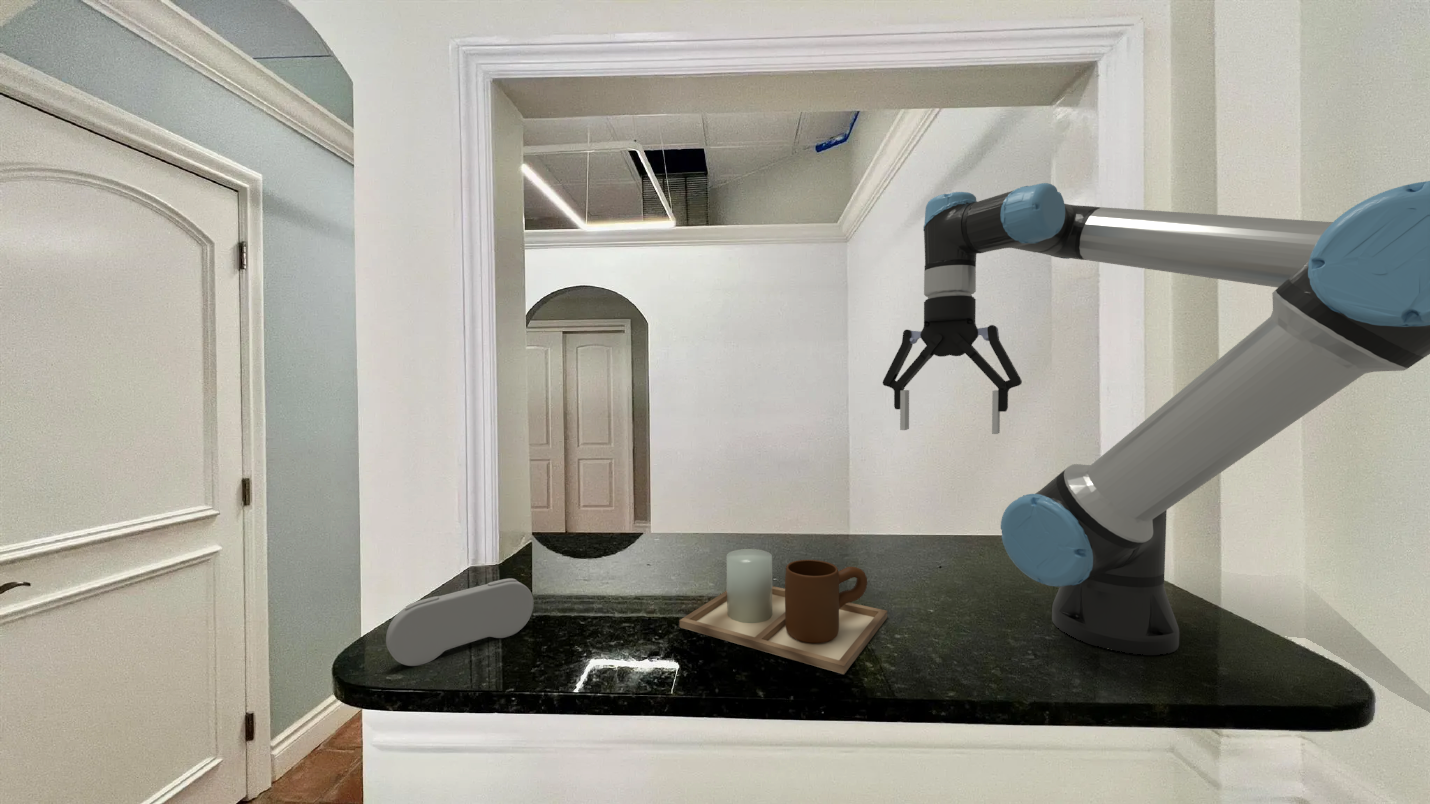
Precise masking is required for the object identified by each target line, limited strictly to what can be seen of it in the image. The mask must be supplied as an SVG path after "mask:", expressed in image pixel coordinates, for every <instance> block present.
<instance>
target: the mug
mask: <svg viewBox="0 0 1430 804" xmlns="http://www.w3.org/2000/svg"><path fill="white" fill-rule="evenodd" d="M852 578H856V581H855V585H854V586H853V588H851V589H845V590H842V591H840V585H841V584H842V583H844V582H847V581H848V580H850V579H852ZM867 587H868V578H867V575H866V573H865V572H864V570H862V569H861V568H859V567H857V566H846V567H844V568H842V569H841V570H839V569H838V567H837V566H836V565H835V564H833V563H832V562H828V561H825V560H819V559H800V560H799V559H798V560H794V561H792V562H789V563H788V564H787V565H786V566H785V576H784V589H785V624H786V630H787V632H788V634H789V635H790V636H792V637H793V638H795V639H797V640H799V641H802V642H807V643H824V642H828V641H831V640H833V639H834V638H835V637H836V636H837V634H838V631H839V609H840V608H841V607H842V606H844V605H845V604H846V603H853V602H856V601H857V600H859V599H860V598H862V596H863V595H864V594H865V593H866V591H867Z"/></svg>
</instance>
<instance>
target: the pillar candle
mask: <svg viewBox="0 0 1430 804" xmlns="http://www.w3.org/2000/svg"><path fill="white" fill-rule="evenodd" d="M772 586H773V554H772V553H770V552H768V551H766V550H763V549H759V548H757V549H755V548H741V549H736V550H732V551H729V552H728V553H727V554H726V591H727V615H728V616H729V617H730V618H731V619H733V620H735V621H738V622H743V623H758V622H763V621H766V620H768V619H770V618H771V617H772Z"/></svg>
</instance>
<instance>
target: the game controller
mask: <svg viewBox="0 0 1430 804" xmlns="http://www.w3.org/2000/svg"><path fill="white" fill-rule="evenodd" d="M533 610H534V596H533V594H532V592H531V590H530V589H529V588H528V587H527V586H526V585H525V584H523V583H522V582H519V581H518V580H517V579H515V578H512V577H511V578H503V579H499V580H494V581H490V582H488V583H485V584H482V585H478V586H474V587H469V588H466V589H462V590H458V591H454V592H450V593H447V594H442V595H438V596H437V595H435V596H431V597H428V598H424V599H420V600H417V601H414V602H411V603H409V604H408V605H406V606H405V607H404V608H402V609H401V610H400V611H399V612H397V614H396V615H395V616H394V617H393V619H392V620H391V622H390V623H389V625H388V627H387V630H386V636H385V644H386V648H387V650H388V652H389V653H390V655H391V657H392V658H393V659H394V661H396V662H397V663H399V664H402V665H404V666H407V667H417V666H423V665H425V664H428V663H430V662H432V661H434V660H435V659H437V658H438V657H439V656H441V655H442V654H443V653H444V652H445V651H448V650H451V649H453V648H456V647H460V646H463V645H467V644H470V643H472V642H475V641H480V640H482V639H486V638H495V639H504V638H508V637H510V636H514V635H515V634H518V632H520V630H522V629H523V628H524V627H525V626H526V624H527V623H528V621H530V618H531V616H532V614H533Z"/></svg>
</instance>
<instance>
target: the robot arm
mask: <svg viewBox="0 0 1430 804" xmlns="http://www.w3.org/2000/svg"><path fill="white" fill-rule="evenodd" d="M924 214H925V215H924V225H923V229H922V230H923V235H924V236H923V238H924V239H923V241H924V273H923V275H924V276H923V279H924V280H923V295H924V296H925V297H927V299H925V300H924V301H923V327H922V330H921V331H919V330H911V329H904V330H903V332H902V338H901V339H902V340H901V344H900V346H899V348H898V350H897V352H896V354H895V356H894V358H893V360H892V362H891V364H890V365H889V368H888V371H887V372H886V374H885V376H884V378H883V380H882V385H883V386H885V387H888V388H891V389H892V390H893V393H894V394H893V397H894V398H893V403H894V404H893V406H894V409H895V410H900V411H899V412H900V413H899V415H900V416H899V417H900V419H899V420H900V423H899V424H900V425H899V430H900V431H907V430H909V429H910V390H909V389H905V388H906V387H907V385H908V384H909V383H910V382H911V381H912V380H913V379H914V377H915V376H916V375H917V374H918V373H919V371H920V370H921V369H922V368H923V367H924V366H925V365H926V364H927V363H928V361H930V359H932V358H933V357H934V356H936V357H948V356H953V357H961V356H963V355H965V354H966V356H967V357H968V358H969V359H970V360H971V361H972V362H973V363H974V364H975V365H976V366H977V367H978V368H979V369H980V370H981V372H982V373H983V374H984V375H985V376H986V377H987V378H988V379H989V380H990V381H991V383H993V384H994V386H996V388H997V389H995V390H992V401H991V402H992V403H991V404H992V406H991V411H992V412H991V416H992V418H991V435H999V434H1000V425H1001V424H1000V423H1001V422H1000V421H1001V420H1000V419H1001V417H1000V416H1001V414H1000V413H1001V412H1002V413H1003V412H1004V413H1005V412H1007V410H1008V408H1009V391H1010V389H1012V388H1015V387H1019V386H1021V385H1022V382H1023V380H1022V378H1021V376H1020V375H1019V373H1018V371H1017V369H1016V367H1015V366H1014V364H1013V362H1012V361H1011V359H1010V356H1009V355H1008V353H1007V351H1006V349H1005V348H1004V346H1003V345H1002V343H1001V340H1000V335H999V328H998V327H997V326H995V325H994V324H990V325H989V326H986V327H979V328H978V327H977V324H976V308H977V307H976V306H977V305H976V301H977V299H976V298H975V297H974V296H973V294H975V293H976V291H977V289H976V288H977V287H976V286H977V283H976V281H977V277H976V276H977V273H976V272H977V271H976V268H977V254H984V253H987V252H993V251H997V250H1002V249H1016V250H1021V251H1025V252H1029V253H1030V252H1031V253H1038V254H1042V255H1047V256H1051V257H1054V258H1059V259H1067V260H1068V259H1073V260H1074V259H1075V260H1081V261H1082V260H1083V261H1090V262H1097V263H1103V264H1112V265H1118V266H1125V267H1133V268H1139V269H1145V270H1153V271H1159V272H1160V271H1161V272H1167V273H1175V274H1181V275H1188V276H1194V277H1199V278H1200V277H1203V278H1209V279H1216V280H1222V281H1229V282H1236V283H1244V284H1250V285H1256V286H1257V285H1258V286H1263V287H1271V288H1272V287H1273V288H1276V289H1275V290H1274V291H1272V295H1271V296H1272V311H1271V315H1270V317H1268V318H1267V319H1266V320H1265V321H1263V322H1262V323H1261V324H1260V325H1258V326H1257V327H1256V328H1255V329H1254V330H1252V331H1251V332H1250V333H1249V334H1248V335H1246V336H1245V337H1244V338H1243V339H1242V340H1240V341H1239V342H1238V343H1236V344H1235V345H1234V346H1233V347H1232V348H1230V349H1229V350H1228V351H1227V352H1226V353H1224V355H1222V356H1221V357H1220V358H1218V359H1217V360H1216V361H1214V363H1213V364H1211V365H1209V367H1208V368H1206V369H1205V370H1204V371H1202V373H1200V374H1199V375H1198V376H1196V377H1195V379H1193V380H1192V381H1191V382H1190V383H1188V384H1187V385H1186V386H1184V387H1183V388H1182V389H1181V390H1180V391H1178V393H1176V394H1175V395H1174V396H1172V397H1171V398H1170V399H1169V400H1168V401H1167V402H1166V403H1164V404H1163V405H1161V407H1159V408H1158V409H1157V410H1156V411H1154V412H1153V413H1152V414H1151V415H1150V416H1148V417H1147V418H1145V420H1143V422H1141V423H1140V424H1139V425H1137V426H1136V427H1135V428H1133V429H1132V431H1130V432H1129V433H1127V434H1126V435H1125V436H1124V437H1122V439H1121V440H1119V441H1117V443H1116V444H1115V445H1113V446H1112V447H1111V448H1110V449H1109V450H1107V451H1106V452H1105V453H1104V454H1102V455H1100V457H1099V458H1098V459H1096V460H1095V461H1094V462H1092V464H1090V465H1089V464H1081V463H1080V464H1079V463H1078V464H1077V463H1076V464H1075V463H1074V464H1071V465H1069V466H1067V467H1066V468H1065V469H1064V470H1063V471H1061V472H1060V473H1059V474H1057V476H1055V477H1054V478H1053V479H1052V480H1050V481H1049V482H1048V483H1047V484H1046V485H1044V487H1042V488H1041V489H1040V490H1038V491H1037V492H1036V493H1028V494H1024V495H1022V496H1020V497H1018V498H1017V499H1015V500H1013V501H1012V502H1010V504H1008V506H1007V507H1006V508H1005V510H1004V512H1003V514H1002V516H1001V520H1000V529H1001V541H1002V544H1003V547H1004V550H1005V552H1006V554H1007V555H1008V557H1009V558H1010V560H1011V561H1012V563H1013V564H1014V565H1015V567H1017V568H1018V570H1020V571H1021V572H1022V573H1023V574H1024V575H1026V576H1027V577H1028V578H1030V579H1031V580H1033V581H1035V582H1037V583H1040V584H1042V585H1046V586H1049V587H1059V588H1058V591H1057V593H1056V595H1055V597H1054V600H1053V602H1052V607H1051V608H1052V609H1051V611H1052V612H1051V621H1052V623H1053V625H1054V626H1055V627H1056V628H1057V629H1058V628H1059V629H1058V630H1059V631H1061V632H1063V633H1064V632H1065V633H1064V634H1066V633H1067V634H1068V636H1069V635H1070V636H1069V637H1071V636H1072V638H1073V637H1074V639H1075V638H1076V639H1075V640H1078V641H1080V640H1081V641H1080V642H1082V641H1083V642H1082V643H1084V644H1087V645H1091V646H1094V647H1097V646H1099V647H1098V648H1100V647H1103V648H1102V649H1104V648H1109V649H1112V650H1116V651H1115V652H1117V651H1120V652H1119V653H1122V652H1125V653H1124V654H1129V653H1133V654H1132V655H1137V654H1141V655H1140V656H1161V655H1160V654H1163V655H1167V654H1166V653H1168V654H1171V653H1173V652H1176V651H1177V650H1178V649H1179V648H1180V647H1179V646H1180V628H1179V625H1178V623H1177V619H1176V616H1175V614H1174V610H1173V609H1172V605H1171V604H1170V603H1171V602H1170V600H1169V597H1168V595H1167V592H1166V588H1165V573H1166V572H1165V569H1166V568H1165V567H1166V542H1167V510H1169V509H1170V508H1171V507H1173V506H1174V505H1176V504H1177V503H1179V502H1180V501H1182V500H1183V499H1184V498H1186V497H1188V495H1190V494H1192V493H1194V492H1195V491H1196V490H1198V489H1199V488H1200V487H1202V486H1203V485H1205V484H1206V483H1208V482H1209V481H1211V480H1212V479H1214V478H1216V476H1218V475H1220V474H1221V473H1222V472H1224V471H1225V470H1227V469H1228V468H1229V467H1231V466H1232V465H1234V464H1235V463H1237V462H1238V461H1240V460H1241V459H1242V458H1244V457H1246V456H1247V455H1248V454H1250V453H1251V452H1253V451H1255V450H1256V449H1257V448H1259V447H1260V446H1262V445H1263V444H1265V443H1266V442H1268V441H1269V440H1271V439H1272V438H1273V437H1275V436H1276V435H1278V434H1279V433H1281V432H1282V431H1283V430H1285V429H1286V428H1288V427H1290V426H1291V425H1292V424H1294V423H1296V421H1299V420H1300V419H1301V418H1302V417H1305V415H1307V414H1308V413H1310V412H1311V411H1312V410H1314V409H1315V408H1318V406H1320V405H1321V404H1323V403H1324V402H1327V400H1328V399H1330V398H1332V397H1333V396H1335V395H1336V394H1337V393H1339V392H1341V391H1342V390H1343V389H1344V388H1347V387H1348V386H1349V385H1350V384H1352V383H1353V382H1355V381H1356V380H1358V379H1359V378H1361V377H1362V376H1364V375H1365V374H1369V373H1374V372H1399V371H1401V372H1402V371H1403V372H1404V371H1406V370H1408V369H1410V367H1412V366H1414V365H1416V364H1417V363H1418V362H1420V361H1422V360H1423V359H1424V358H1426V357H1428V356H1429V355H1430V180H1425V181H1419V182H1414V183H1409V184H1406V185H1401V186H1397V187H1393V188H1391V189H1387V190H1385V191H1382V192H1380V193H1378V194H1375V195H1373V196H1371V197H1368V198H1366V199H1364V200H1363V201H1361V202H1359V203H1357V204H1356V205H1354V206H1352V207H1350V209H1348V210H1346V211H1345V212H1343V213H1342V214H1341V215H1339V216H1337V218H1336V219H1335V220H1334V221H1323V220H1320V221H1319V220H1306V219H1305V220H1304V219H1290V218H1289V219H1287V218H1272V217H1261V216H1260V217H1258V216H1242V215H1230V214H1229V215H1227V214H1214V213H1213V214H1212V213H1200V212H1199V213H1198V212H1197V213H1196V212H1184V211H1183V212H1180V211H1168V210H1167V211H1165V210H1163V211H1162V210H1149V209H1137V208H1119V207H1118V208H1117V207H1103V206H1101V207H1100V206H1092V205H1079V204H1078V205H1077V204H1068V203H1065V201H1064V197H1063V195H1062V193H1061V191H1058V189H1057V187H1056V186H1055V185H1054V184H1051V183H1048V182H1043V183H1037V184H1033V185H1025V186H1024V185H1023V186H1020V187H1018V188H1015V189H1014V190H1011V191H1007V192H1005V193H1002V194H998V195H995V196H992V197H988V198H985V199H981V200H978V201H977V196H976V195H974V193H971V192H967V191H955V192H954V191H952V192H950V193H943V194H939V195H936V196H934V197H932V198H931V199H930V200H929V201H928V202H927V204H926V206H925V212H924ZM979 336H981V337H982V338H983V340H984V341H985V342H989V345H990V346H991V347H990V348H991V349H992V350H993V352H994V354H995V356H996V357H997V360H998V361H999V364H1000V365H1001V367H1002V368H1003V370H1004V372H1005V375H1006V376H1007V378H1008V379H1009V380H1005V379H1004V378H1003V377H1002V376H1001V375H1000V374H999V372H997V371H996V370H995V368H993V366H992V365H990V363H989V362H988V361H987V360H986V359H985V358H984V357H983V356H982V355H981V354H980V353H979V351H978V350H977V349H976V348H975V347H974V346H973V344H974V342H975V341H976V340H977V339H978V337H979ZM920 339H921V340H922V342H923V343H924V345H926V346H924V348H923V349H922V350H921V352H920V353H919V354H918V356H917V357H916V358H915V359H914V361H913V362H912V363H911V364H910V365H909V367H908V368H906V370H905V371H904V373H903V374H902V375H901V376H900V377H899V378H898V376H899V373H900V371H902V370H901V369H902V368H903V366H904V364H905V362H906V360H907V358H908V356H909V354H910V352H911V350H912V348H913V345H915V344H916V343H917V342H918V340H920ZM897 378H898V379H897ZM896 379H897V380H896ZM1067 634H1066V635H1067ZM1112 650H1111V651H1112ZM1121 651H1122V652H1121ZM1142 654H1143V655H1142Z"/></svg>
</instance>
